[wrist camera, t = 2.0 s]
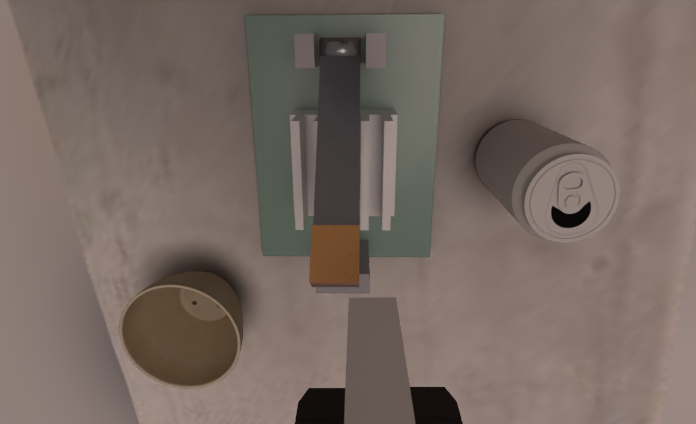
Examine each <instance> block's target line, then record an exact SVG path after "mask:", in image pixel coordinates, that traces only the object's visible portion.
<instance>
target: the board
mask: <svg viewBox="0 0 696 424" xmlns="http://www.w3.org/2000/svg"><path fill="white" fill-rule="evenodd" d="M444 15H445V14H378V15H245V25H246V38H247V52H248V65H249V78H250V91H251V105H252V118H253V131H254V144H255V158H256V171H257V184H258V197H259V211H260V224H261V237H262V250H263V256H311V234H312V225H313V216H314V192H315V168H316V145H317V121H318V97H319V73H320V57H319V39H320V38H331V37H361V64H360V229H359V287H316V293H369V294H370V271H369V257H430V243H431V227H432V210H433V194H434V178H435V162H436V145H437V129H438V113H439V97H440V80H441V64H442V48H443V32H444Z"/></svg>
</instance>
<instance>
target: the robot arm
mask: <svg viewBox="0 0 696 424" xmlns="http://www.w3.org/2000/svg"><path fill="white" fill-rule="evenodd" d="M295 424H463V423H462V421H461V416H460V412H459V409H458V405H457V402H456V400H455V399H454V398H453V397H452V395H451V394H450V393H449V392H448V391H447V390H446V388H445V387H410V385H409V378H408V372H407V366H406V359H405V353H404V346H403V340H402V333H401V327H400V321H399V314H398V308H397V301H396V298H349V311H348V337H347V362H346V387H345V388H309V389H308V390H307V391H306V393H305V394H304V396H303V397H302V398H301V400H300V401H299V403H298V408H297V414H296V422H295Z"/></svg>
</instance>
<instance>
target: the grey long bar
mask: <svg viewBox="0 0 696 424" xmlns="http://www.w3.org/2000/svg"><path fill="white" fill-rule="evenodd" d="M319 57H320V73H319V97H318V121H317V145H316V168H315V192H314V216H313V225H312V234H311V257H310V280H309V282H310V284H311V286H312V287H359V229H360V64H361V37H331V38H320V39H319Z"/></svg>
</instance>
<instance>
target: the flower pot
mask: <svg viewBox="0 0 696 424" xmlns="http://www.w3.org/2000/svg"><path fill="white" fill-rule="evenodd" d="M195 302H196V304H194V303H195ZM119 334H120V339H121V343H122V346H123V348H124V350H125V352H126V354H127V356H128V357H129V359H130V360H131V361H132V362H133V364H134V365H135V366H136V367H137V368H138V369H139V370H140V371H142V372H143V373H144V374H146V375H147V376H148V377H150V378H152V379H154V380H156V381H158V382H160V383H162V384H165V385H168V386H172V387H177V388H185V389H192V388H201V387H206V386H209V385H212V384H214V383H216V382H218V381H220V380H222V379H223V378H224V377H226V376H227V375H228V374H229V373H230V372H231V371H232V369H233V368H234V366H235V365H236V363H237V360H238V358H239V354H240V350H241V345H242V339H243V318H242V311H241V307H240V303H239V301H238V298H237V296H236V294H235V292H234V290H233V289H232V287H231V286H230V285H229V283H228V282H227V281H225V280H224V279H223V278H222V277H220V276H218V275H216V274H213V273H209V272H203V271H191V272H184V273H179V274H175V275H172V276H169V277H167V278H164V279H162V280H160V281H158V282H156V283H154V284H152V285H150V286H149V287H147V288H146V289H144V290H143V291H141V292H140V293H138V294H137V295H136V296H135V297H134V298H133V299H131V300H130V302H129V303H128V304H127V305H126V307H125V309H124V311H123V313H122V316H121V319H120V324H119Z"/></svg>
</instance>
